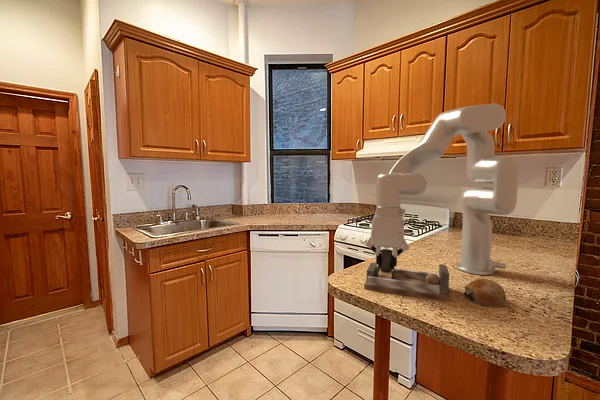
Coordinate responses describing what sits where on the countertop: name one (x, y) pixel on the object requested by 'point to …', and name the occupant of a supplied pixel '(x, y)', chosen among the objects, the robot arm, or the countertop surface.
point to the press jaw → (386, 265)
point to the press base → (411, 282)
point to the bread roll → (485, 293)
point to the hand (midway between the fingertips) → (386, 266)
